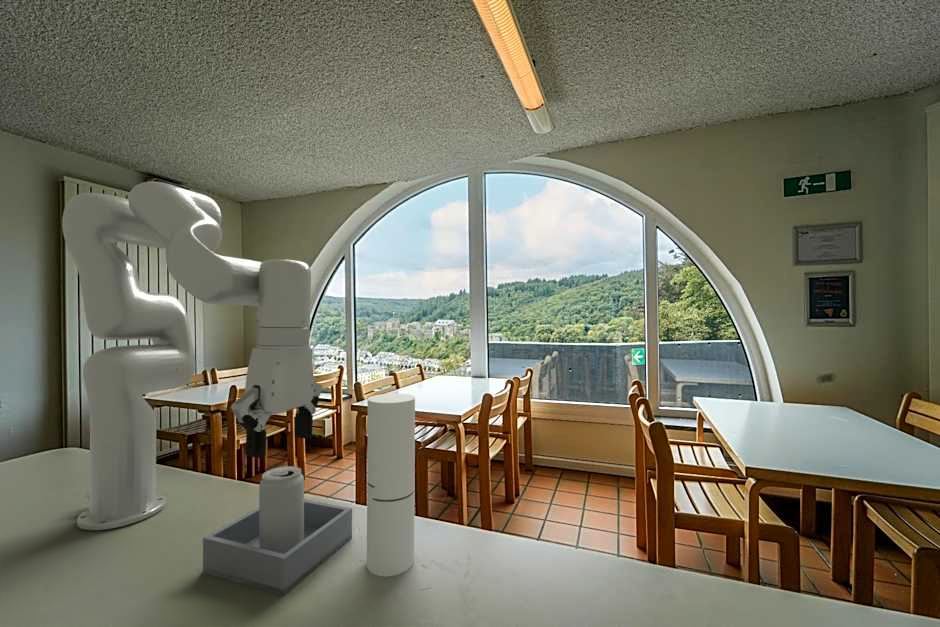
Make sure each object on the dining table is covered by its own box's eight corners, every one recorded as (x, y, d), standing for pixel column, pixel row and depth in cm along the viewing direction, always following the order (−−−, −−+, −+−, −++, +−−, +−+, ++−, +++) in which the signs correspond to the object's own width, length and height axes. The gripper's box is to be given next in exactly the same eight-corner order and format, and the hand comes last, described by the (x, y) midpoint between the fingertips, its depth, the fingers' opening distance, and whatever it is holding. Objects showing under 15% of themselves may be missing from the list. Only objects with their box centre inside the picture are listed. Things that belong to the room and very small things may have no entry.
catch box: (202, 572, 59) (203, 537, 59) (281, 522, 73) (282, 495, 73) (284, 596, 54) (284, 558, 54) (351, 538, 68) (352, 508, 68)
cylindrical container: (396, 542, 67) (397, 391, 67) (423, 561, 62) (424, 398, 62) (357, 561, 62) (358, 397, 62) (383, 583, 57) (384, 405, 57)
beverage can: (287, 562, 60) (287, 481, 60) (249, 557, 61) (249, 478, 61) (312, 539, 66) (312, 466, 66) (277, 535, 67) (277, 463, 67)
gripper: (304, 335, 73) (301, 429, 73) (216, 340, 57) (212, 461, 57) (338, 337, 71) (336, 434, 71) (256, 343, 54) (253, 469, 54)
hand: (281, 446), depth 64 cm, fingers open, 9 cm apart
